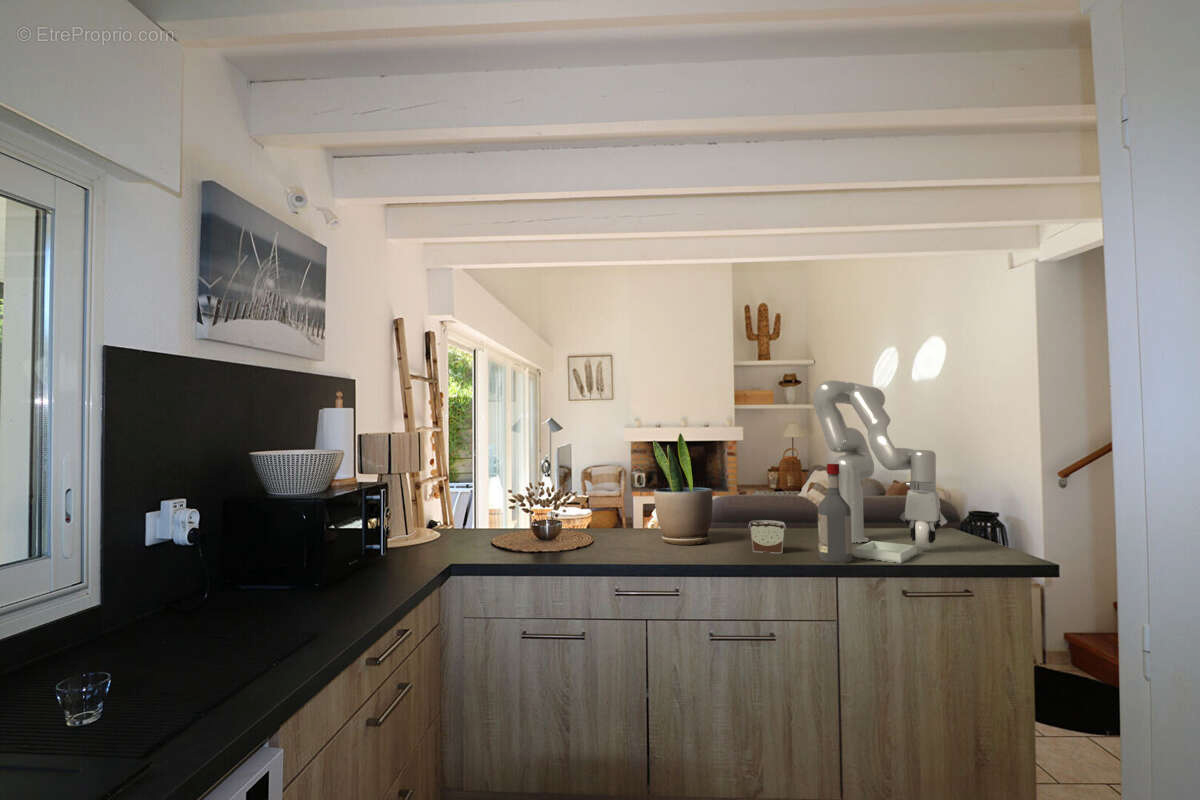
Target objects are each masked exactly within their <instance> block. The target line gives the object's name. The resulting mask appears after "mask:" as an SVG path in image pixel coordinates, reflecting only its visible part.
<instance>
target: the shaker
mask: <svg viewBox="0 0 1200 800" xmlns="http://www.w3.org/2000/svg"><path fill="white" fill-rule="evenodd" d="M930 529H931V528H930V524H929V522H924V521H915V541H914V545H916V546H917V548H920V549H921V548H922V549H930V548H931V547H932V546H931V544H932V543H929V531H930Z"/></svg>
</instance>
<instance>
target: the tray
mask: <svg viewBox="0 0 1200 800" xmlns="http://www.w3.org/2000/svg"><path fill="white" fill-rule="evenodd" d="M915 555H916V556H918V547H917V546H916V545H915V544H914V545H913V544H904V543H896V542H886V541H878V540H877V541H876V540H871V541H869V542H867V543H862V544H860V545H858V546H856V547H853V558H854V557H859V558H858V559H861V558H867V559H866V560H869V559H875V560H874V561H877V560H881V561H880V562H885V561H887V562H886V563H893V562H896V563H895V564H903V563H904V561H905V562H906V561H908V560H910V559H912V558H914V557H916V556H915ZM913 556H914V557H913ZM911 557H912V558H911ZM902 562H903V563H902Z"/></svg>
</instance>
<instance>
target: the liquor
mask: <svg viewBox="0 0 1200 800" xmlns="http://www.w3.org/2000/svg"><path fill="white" fill-rule="evenodd" d="M826 474H827V494H826V495H825V497H824V498H823V499H822V500H821V501H820V502H819V503H818V506H817V531H818V534H817V535H818V536H817V537H818V538H817V539H818V541H817V542H818V556H819V558H820V560H821V562H823V561H824V563H828V562H842V563H841V564H847V563H846V562H850V563H851V562H852V560H853V551H852V550H853V545H852V544H853V543H852V537H851V509H850V507H849V505H848V504H847V503H846V502H845V501H844V499H843V498H842V497H841V496H840V492H839V475H838V474H839V464H833V463H826Z"/></svg>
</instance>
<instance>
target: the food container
mask: <svg viewBox="0 0 1200 800" xmlns="http://www.w3.org/2000/svg"><path fill="white" fill-rule="evenodd" d="M748 529H749V530H750V536H751V544H752V552H753V553H763V552H770V553H769V554H780V553H782V554H783V549H784V548H783V547H784V536H785V530H787V527H786V524H785V522H784V521H779V520H768V519H767V520H766V519H763V520H762V519H759V520H758V519H757V520H751V521H749V524H748Z"/></svg>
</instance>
